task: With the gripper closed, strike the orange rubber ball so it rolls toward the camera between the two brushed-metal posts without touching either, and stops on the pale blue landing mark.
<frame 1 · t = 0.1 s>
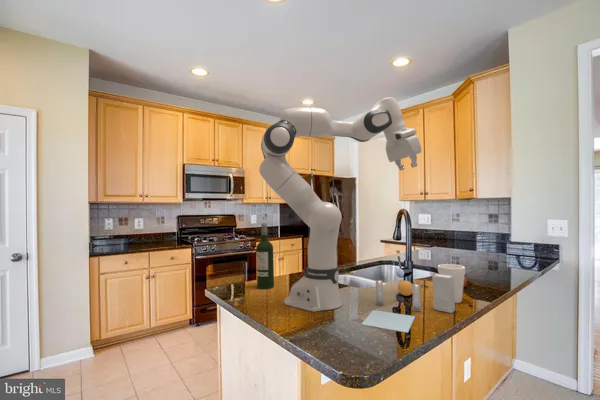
hand: (408, 168, 123), 52 cm above the counter, tool tilted 20°, fingers open, 8 cm apart
right post: (416, 310, 106), on the counter
skincare box: (444, 310, 106), on the counter
ball: (405, 288, 124), on the counter
left post: (379, 304, 113), on the counter
landing mark: (388, 320, 97), on the counter
pomegranate: (457, 288, 133), on the counter
wine bottle: (265, 287, 142), on the counter
foam cup: (452, 300, 116), on the counter
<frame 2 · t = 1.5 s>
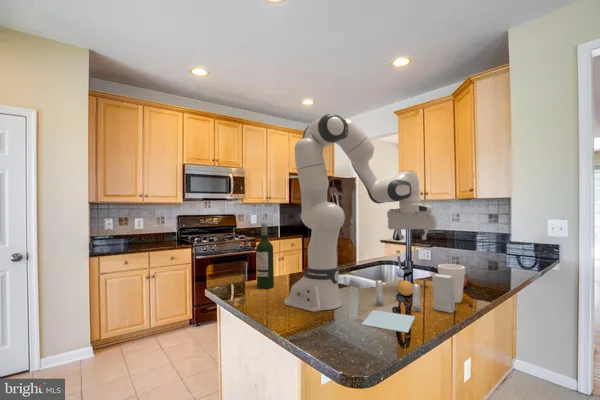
hand: (412, 239, 132), 22 cm above the counter, tool pointing down, fingers open, 8 cm apart
nothing on the counter moved.
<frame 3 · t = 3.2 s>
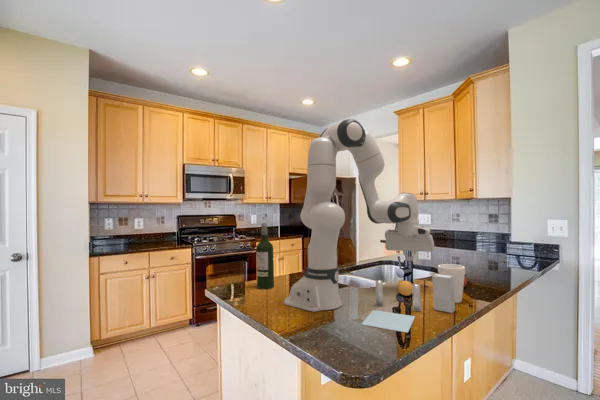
hand: (409, 261, 133), 12 cm above the counter, tool pointing down, fingers closed
nothing on the counter moved.
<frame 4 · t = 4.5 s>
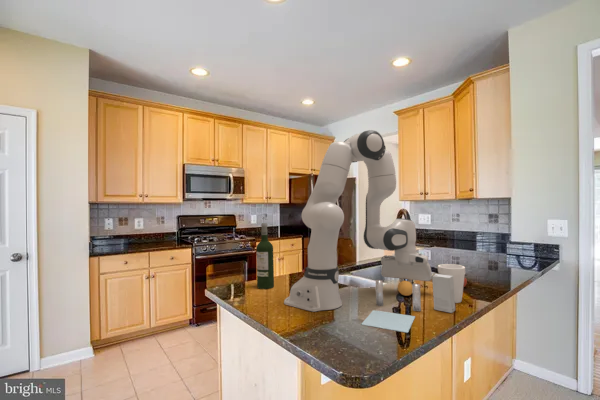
hand: (406, 289, 128), 1 cm above the counter, tool pointing down, fingers closed
nothing on the counter moved.
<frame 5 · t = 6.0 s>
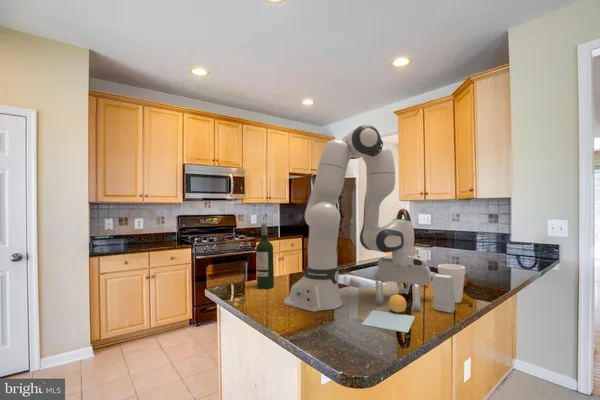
hand: (404, 293, 121), 2 cm above the counter, tool pointing down, fingers closed
ball: (397, 303, 105), on the counter
everything else where it was.
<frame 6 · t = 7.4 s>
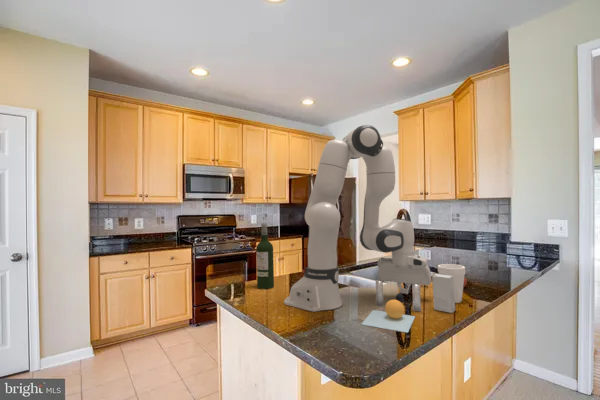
hand: (404, 293, 121), 2 cm above the counter, tool pointing down, fingers closed
ball: (394, 309, 99), on the counter
everything else where it was.
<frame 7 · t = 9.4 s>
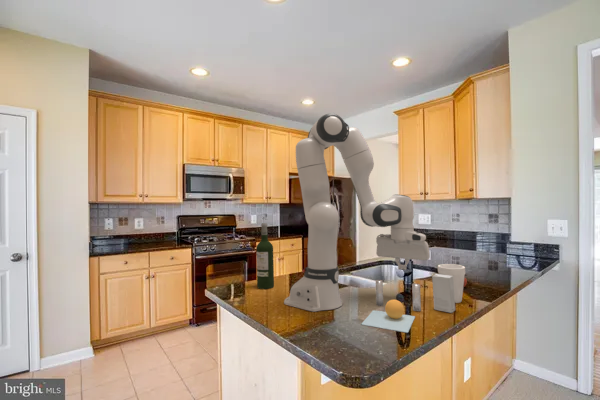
hand: (402, 269, 121), 11 cm above the counter, tool pointing down, fingers closed
nothing on the counter moved.
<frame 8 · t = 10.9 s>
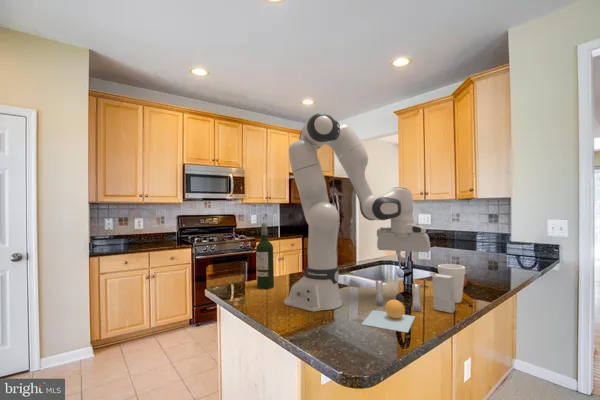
hand: (403, 262, 121), 14 cm above the counter, tool pointing down, fingers closed
nothing on the counter moved.
at the end: ball 3.2 cm from the landing mark (horizontally); ball never touched left post; ball never touched right post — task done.
